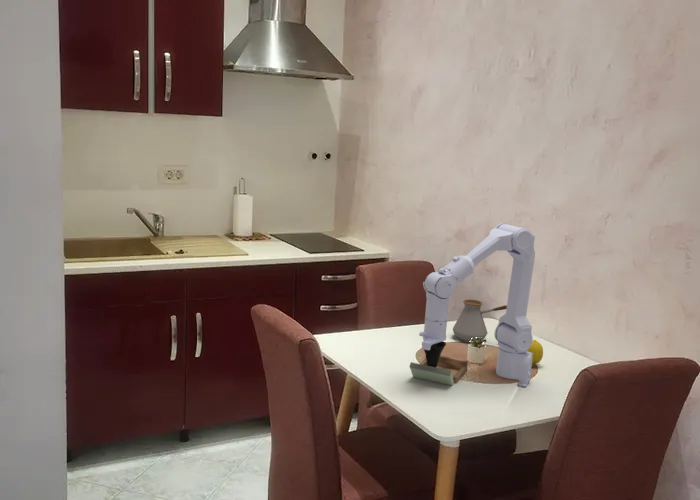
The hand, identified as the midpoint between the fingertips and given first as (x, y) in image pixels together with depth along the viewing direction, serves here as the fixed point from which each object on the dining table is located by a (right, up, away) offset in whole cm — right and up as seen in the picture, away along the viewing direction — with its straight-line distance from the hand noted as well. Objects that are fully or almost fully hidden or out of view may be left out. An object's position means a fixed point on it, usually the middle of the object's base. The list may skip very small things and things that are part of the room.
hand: (431, 368), depth 174 cm
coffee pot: (+23, 0, +45) cm, 50 cm away
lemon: (+33, -4, +25) cm, 42 cm away
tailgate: (+1, -4, +4) cm, 6 cm away
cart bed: (+4, -4, +10) cm, 11 cm away
